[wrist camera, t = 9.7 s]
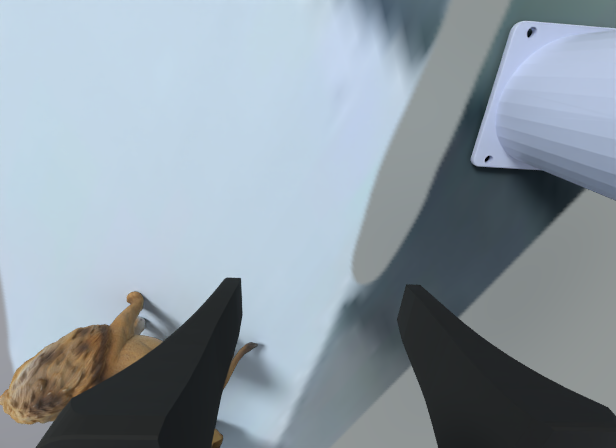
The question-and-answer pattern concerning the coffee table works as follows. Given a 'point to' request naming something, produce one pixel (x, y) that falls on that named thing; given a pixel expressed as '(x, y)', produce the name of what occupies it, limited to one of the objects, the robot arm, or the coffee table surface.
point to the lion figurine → (81, 365)
